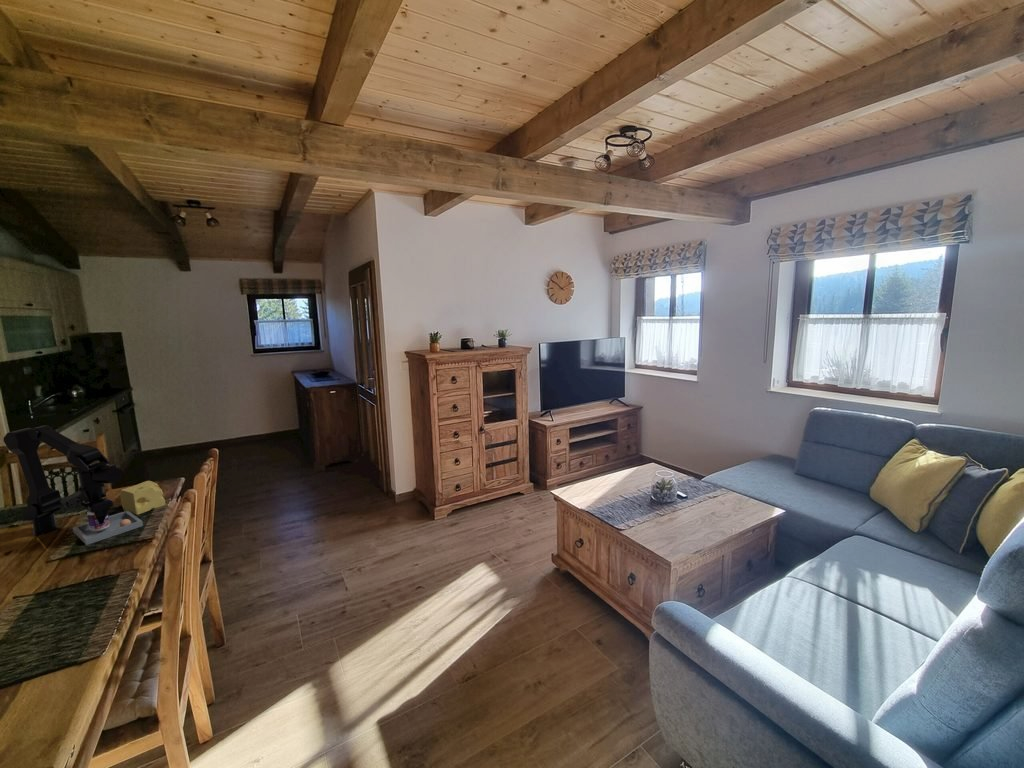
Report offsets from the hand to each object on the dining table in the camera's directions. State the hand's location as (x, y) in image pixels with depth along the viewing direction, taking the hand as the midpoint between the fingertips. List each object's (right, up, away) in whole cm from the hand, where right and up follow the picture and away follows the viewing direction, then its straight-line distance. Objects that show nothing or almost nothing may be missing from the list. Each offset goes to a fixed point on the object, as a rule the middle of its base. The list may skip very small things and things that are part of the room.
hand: (98, 521), depth 161 cm
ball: (+8, -3, +3) cm, 9 cm away
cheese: (+1, -1, +19) cm, 19 cm away
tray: (+2, -4, +2) cm, 5 cm away
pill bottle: (0, -3, +1) cm, 3 cm away
